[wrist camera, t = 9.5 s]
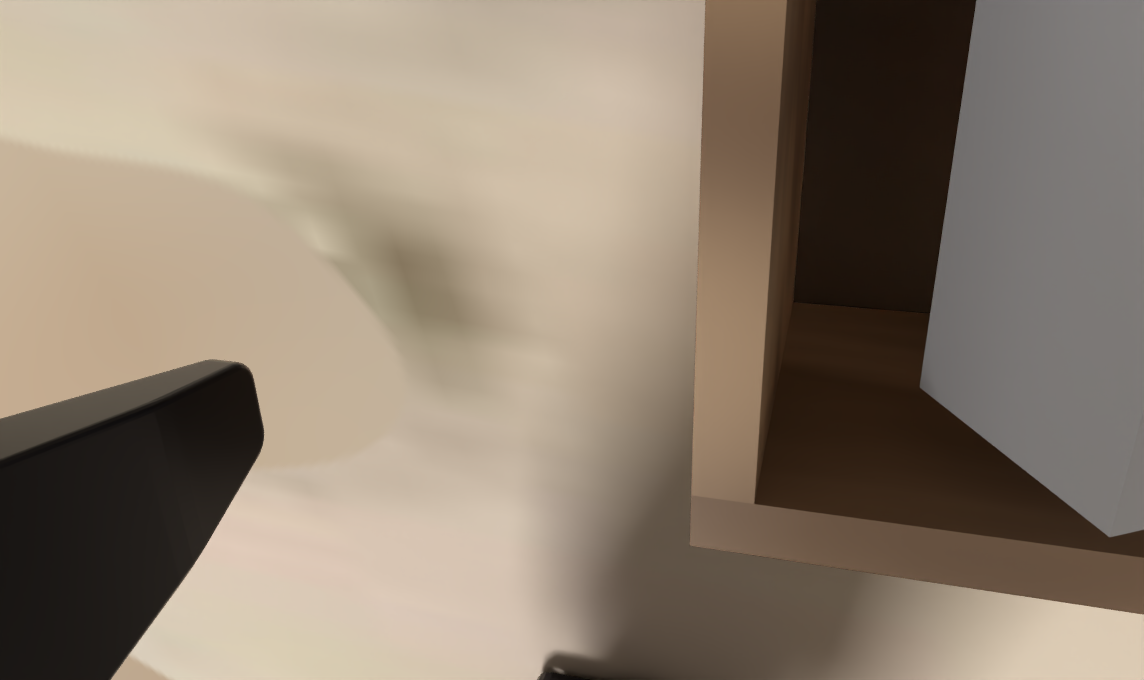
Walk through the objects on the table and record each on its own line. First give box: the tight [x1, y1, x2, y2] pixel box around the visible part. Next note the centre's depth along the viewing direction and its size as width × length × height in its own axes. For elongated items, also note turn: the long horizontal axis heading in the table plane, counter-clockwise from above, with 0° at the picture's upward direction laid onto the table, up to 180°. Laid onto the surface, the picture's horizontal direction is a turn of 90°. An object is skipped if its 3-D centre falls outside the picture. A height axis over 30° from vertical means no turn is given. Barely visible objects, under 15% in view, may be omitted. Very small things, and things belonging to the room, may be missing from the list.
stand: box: [690, 0, 1144, 614], centre depth 15 cm, size 14×10×8 cm
